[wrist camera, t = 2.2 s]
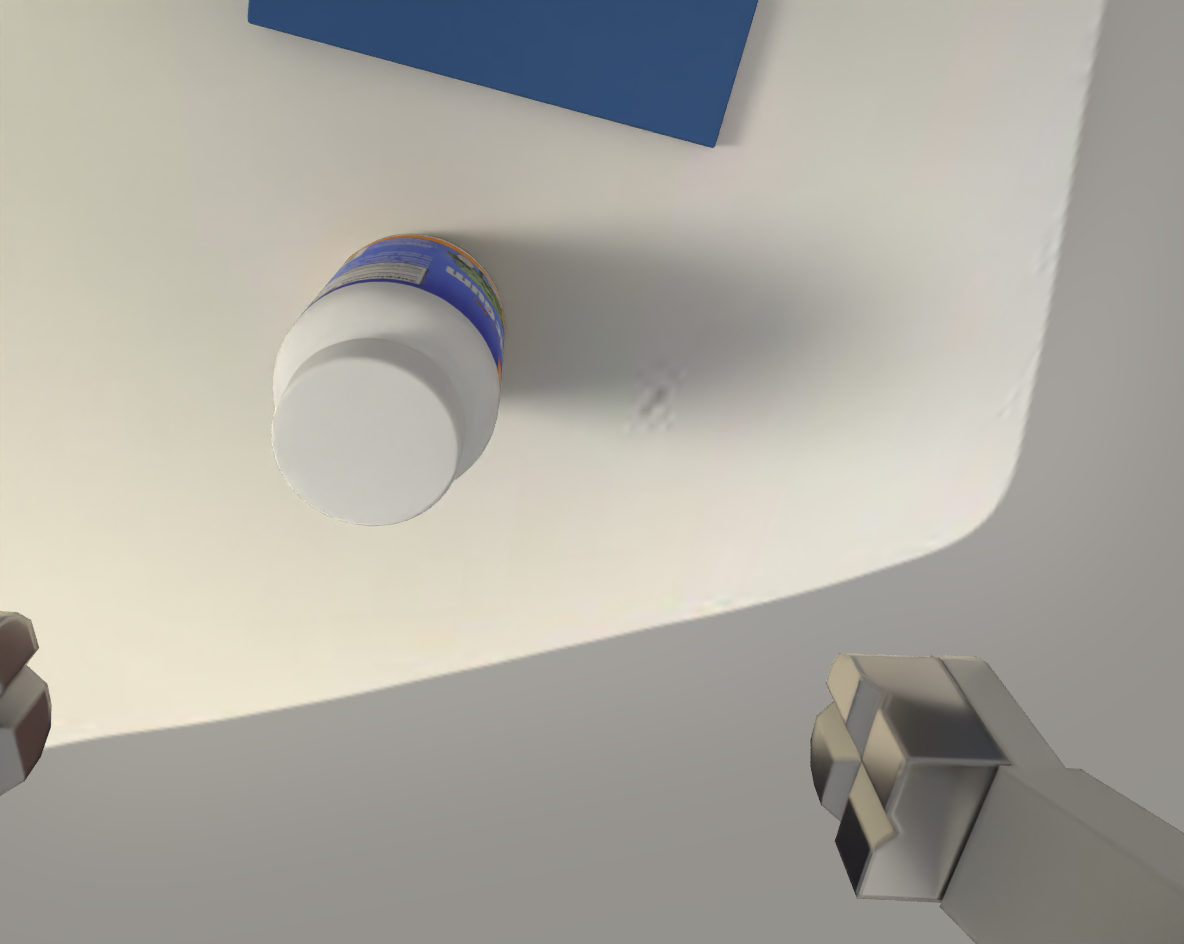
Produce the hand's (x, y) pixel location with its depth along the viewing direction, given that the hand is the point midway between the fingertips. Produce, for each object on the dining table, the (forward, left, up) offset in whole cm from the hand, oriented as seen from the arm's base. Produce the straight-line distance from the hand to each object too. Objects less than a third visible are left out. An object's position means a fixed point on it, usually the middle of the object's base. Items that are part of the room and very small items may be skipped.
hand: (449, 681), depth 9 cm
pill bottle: (-2, -2, -19) cm, 20 cm away
